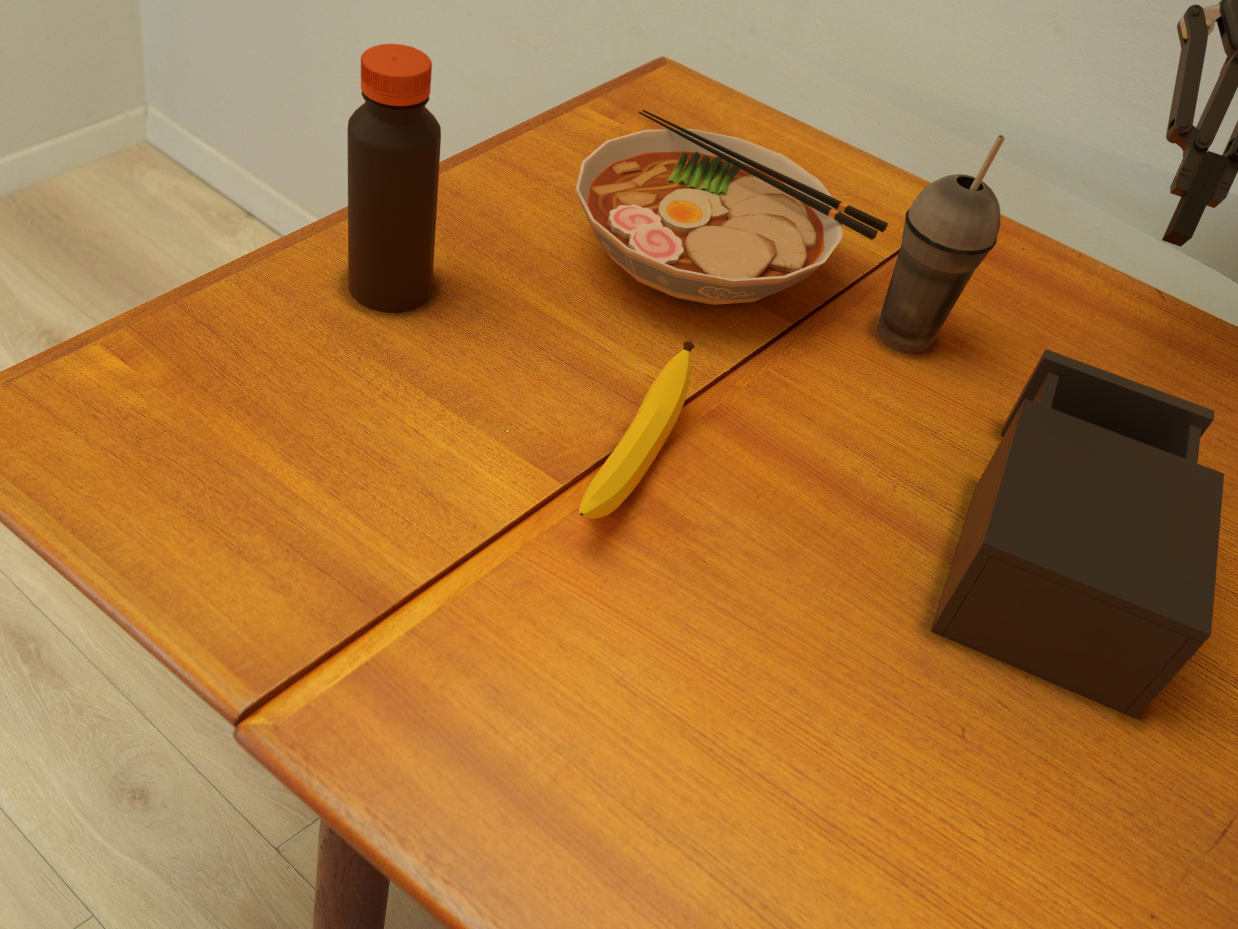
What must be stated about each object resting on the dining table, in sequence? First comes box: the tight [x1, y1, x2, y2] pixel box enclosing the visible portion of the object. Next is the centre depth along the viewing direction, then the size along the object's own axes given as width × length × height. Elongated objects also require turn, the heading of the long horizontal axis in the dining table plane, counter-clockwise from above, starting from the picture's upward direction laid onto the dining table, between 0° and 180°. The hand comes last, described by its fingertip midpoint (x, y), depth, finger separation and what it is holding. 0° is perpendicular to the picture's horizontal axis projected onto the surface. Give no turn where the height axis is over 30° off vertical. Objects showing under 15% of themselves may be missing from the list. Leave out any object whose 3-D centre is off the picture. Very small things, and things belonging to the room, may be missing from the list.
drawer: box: [1000, 348, 1215, 464], centre depth 85 cm, size 19×12×8 cm, turn 155°
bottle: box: [347, 43, 442, 314], centre depth 88 cm, size 7×7×20 cm
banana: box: [578, 340, 695, 520], centre depth 82 cm, size 3×19×6 cm, turn 155°
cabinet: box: [930, 399, 1225, 720], centre depth 78 cm, size 16×14×10 cm
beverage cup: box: [876, 134, 1006, 354], centre depth 92 cm, size 7×7×20 cm
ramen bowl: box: [575, 109, 889, 306], centre depth 100 cm, size 25×23×8 cm
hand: (1176, 238), depth 90 cm, fingers closed
